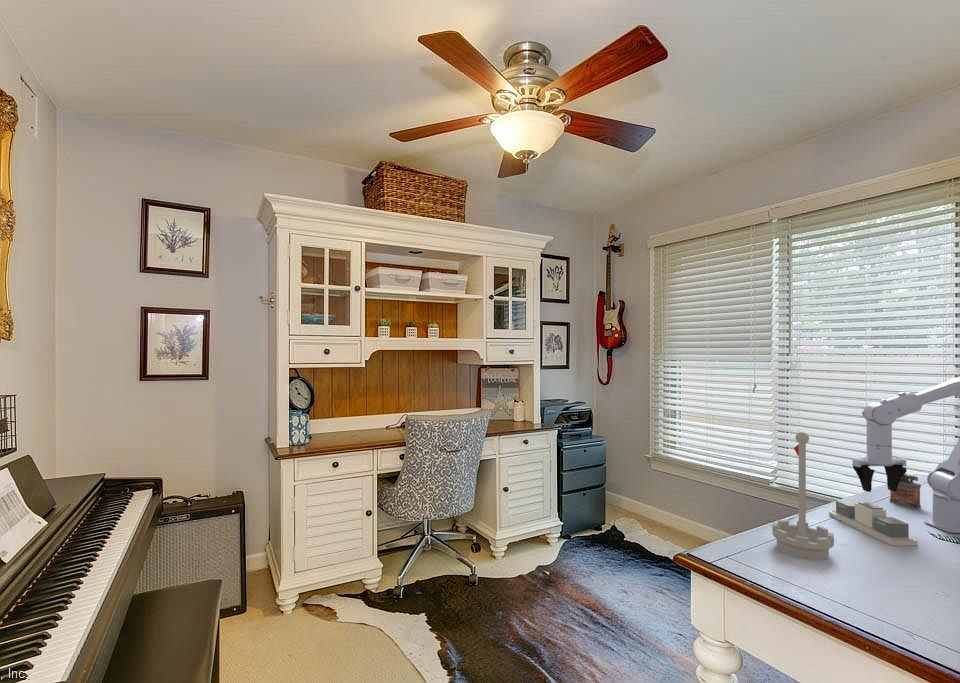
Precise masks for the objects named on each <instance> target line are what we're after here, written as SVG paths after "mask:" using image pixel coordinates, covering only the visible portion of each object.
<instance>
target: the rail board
mask: <svg viewBox="0 0 960 683" xmlns="http://www.w3.org/2000/svg"><path fill="white" fill-rule="evenodd" d="M855 503H858V501H857V502H856V501H855V500H852V499H851V500H835V510H832V511H831V510H830V511H828V516H829V515H831V516H833V517H832V518H834V517H835V518H834V519H836V518H837V519H836V520H838V519H839V520H838V521H840V520H841V521H840V522H842V521H843V522H842V523H844V522H845V523H844V524H846V523H847V524H846V525H848V524H849V525H848V526H850V525H851V526H850V527H852V526H853V527H852V528H854V527H855V528H854V529H856V528H857V529H856V530H858V531H860V532H862V533H865V534H867V535H869V536H870V537H873V538H875V539H877V540H879V541H881V542H883V543H885V544H887V545H889V546H918V540H917V539H914V538H913V537H910V536H909V535H910V534H909V529H910V528H909V525H910V524H909V523H908V522H904V521H903V520H900V519H897V518H895V517H893V516H888V517H887V516H886V517H874V528H871V527H869V526H866V525H864V524H862V523H860V522H858V521H856V520H855ZM831 516H830V517H831Z"/></svg>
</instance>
